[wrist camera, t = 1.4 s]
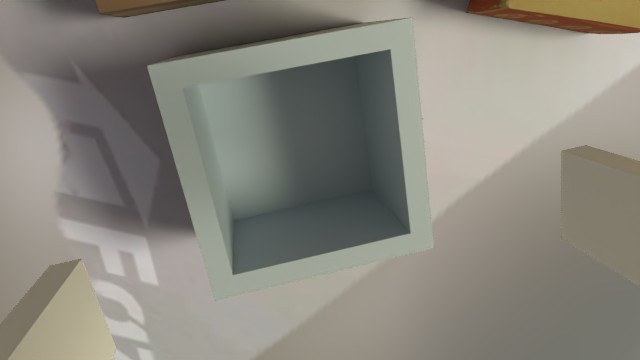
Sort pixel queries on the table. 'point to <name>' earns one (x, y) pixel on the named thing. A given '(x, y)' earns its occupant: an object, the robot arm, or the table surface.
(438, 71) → the table surface
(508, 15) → the carton
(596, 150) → the robot arm
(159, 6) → the crate
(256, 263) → the small crate
